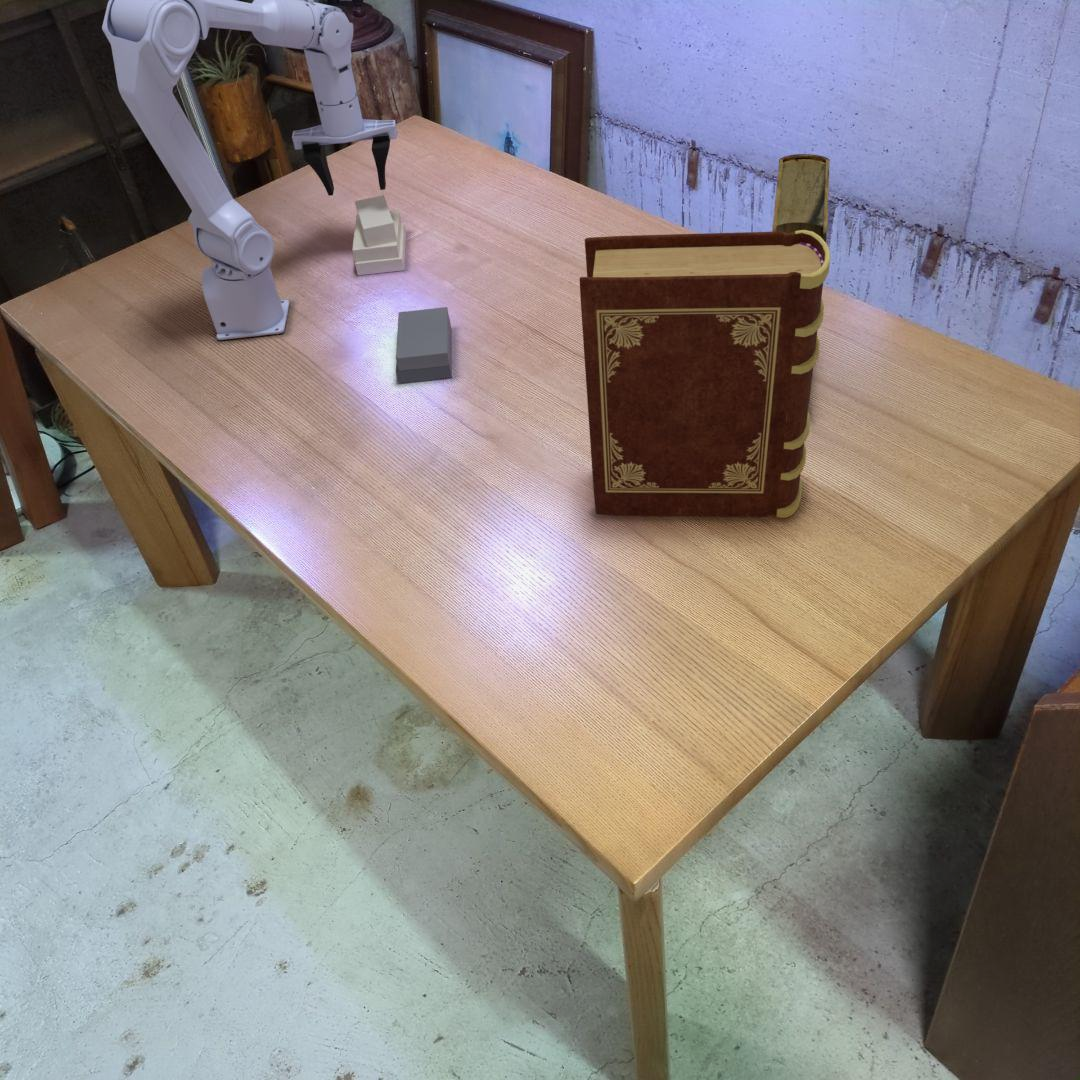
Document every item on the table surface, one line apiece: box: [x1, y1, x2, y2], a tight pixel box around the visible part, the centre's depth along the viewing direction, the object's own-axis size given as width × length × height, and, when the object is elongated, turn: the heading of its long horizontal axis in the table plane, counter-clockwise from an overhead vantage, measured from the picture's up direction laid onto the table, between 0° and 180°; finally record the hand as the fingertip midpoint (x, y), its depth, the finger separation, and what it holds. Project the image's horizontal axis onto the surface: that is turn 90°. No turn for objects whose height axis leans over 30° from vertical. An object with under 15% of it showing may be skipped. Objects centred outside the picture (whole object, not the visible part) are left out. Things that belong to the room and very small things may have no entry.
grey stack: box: [395, 306, 453, 385], centre depth 139 cm, size 7×11×4 cm, turn 4°
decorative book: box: [579, 230, 831, 519], centre depth 107 cm, size 22×8×30 cm, turn 84°
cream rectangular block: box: [354, 194, 397, 247], centre depth 157 cm, size 4×9×3 cm, turn 15°
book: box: [771, 153, 830, 244], centre depth 122 cm, size 16×6×25 cm, turn 168°
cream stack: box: [351, 209, 407, 276], centre depth 159 cm, size 7×11×4 cm, turn 4°
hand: (357, 189), depth 155 cm, fingers open, 7 cm apart
